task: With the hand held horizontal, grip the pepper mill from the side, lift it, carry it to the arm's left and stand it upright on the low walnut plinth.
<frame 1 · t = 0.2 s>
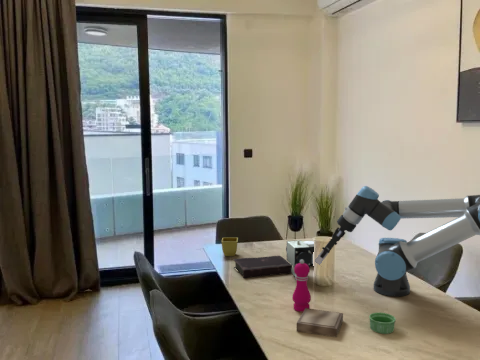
hand: (320, 258, 199), 15 cm above the table, tool tilted 35°, fingers open, 13 cm apart
diary: (261, 271, 232), on the table
flower pot: (229, 255, 259), on the table
plinth: (320, 325, 168), on the table
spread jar: (312, 265, 240), on the table
ramekin: (381, 329, 165), on the table
pepper mill: (301, 309, 184), on the table
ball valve: (299, 277, 222), on the table
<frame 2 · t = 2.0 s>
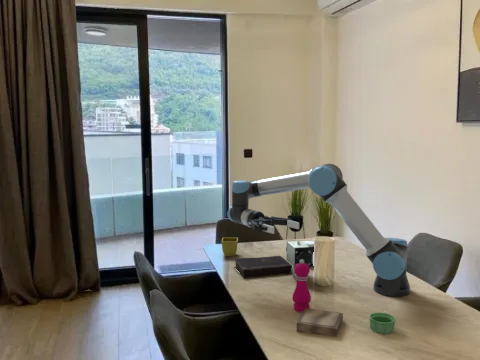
hand: (286, 228, 188), 31 cm above the table, tool horizontal, fingers open, 13 cm apart
nothing on the table moved.
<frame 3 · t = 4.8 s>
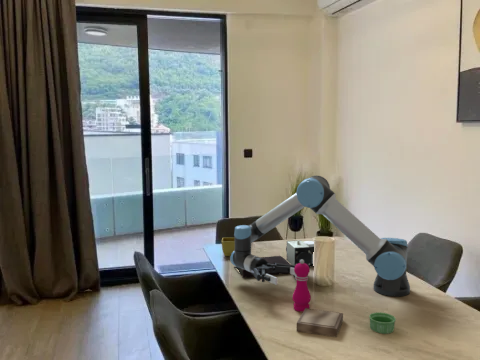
hand: (289, 277, 188), 11 cm above the table, tool horizontal, fingers open, 13 cm apart
nothing on the table moved.
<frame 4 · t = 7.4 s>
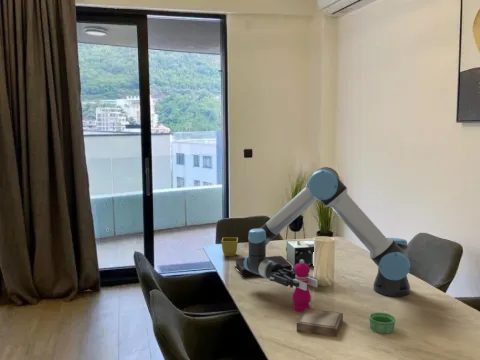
hand: (311, 285, 178), 11 cm above the table, tool horizontal, fingers closed on pepper mill, 5 cm apart
pepper mill: (301, 309, 184), on the table, touching gripper
everything else where it was.
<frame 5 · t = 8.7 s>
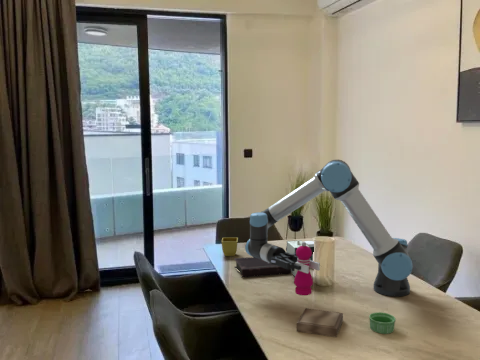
hand: (313, 268, 174), 19 cm above the table, tool horizontal, fingers closed on pepper mill, 5 cm apart
pepper mill: (303, 293, 179), point 8 cm above the table, touching gripper
everything else where it was.
when the fingers open (15 cm above the table, at t = 10.5 s): pepper mill drops 1 cm, resting on plinth.
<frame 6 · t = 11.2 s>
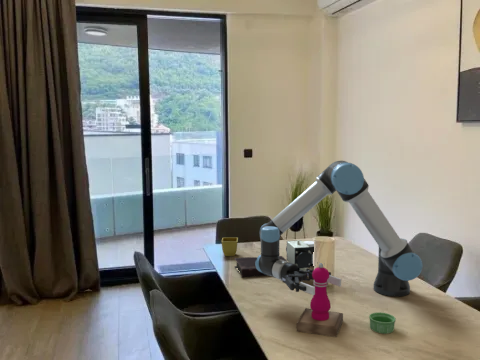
hand: (327, 286, 164), 16 cm above the table, tool horizontal, fingers open, 13 cm apart
pepper mill: (320, 317, 168), point 3 cm above the table, touching plinth
everything else where it was.
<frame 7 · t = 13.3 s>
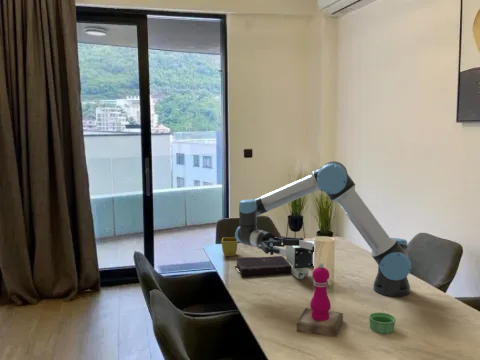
hand: (299, 249, 178), 25 cm above the table, tool horizontal, fingers open, 13 cm apart
nothing on the table moved.
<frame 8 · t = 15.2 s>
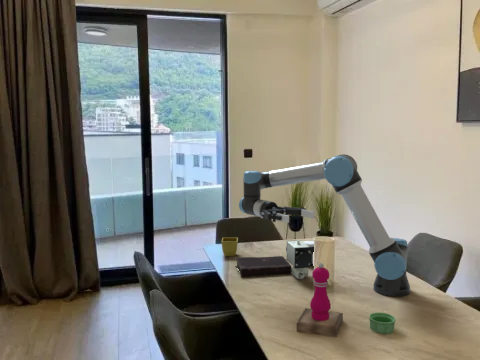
hand: (301, 217, 183), 36 cm above the table, tool horizontal, fingers open, 13 cm apart
at the end: pepper mill inside the target area on the plinth (0.0 cm from its centre), point 3.0 cm above the plinth's base; pepper mill tilted 0°; the gripper is holding nothing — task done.
